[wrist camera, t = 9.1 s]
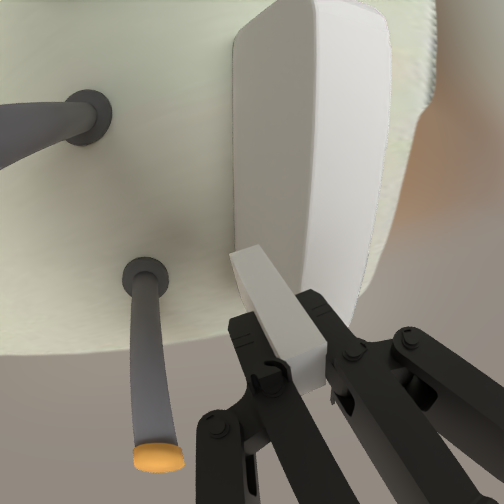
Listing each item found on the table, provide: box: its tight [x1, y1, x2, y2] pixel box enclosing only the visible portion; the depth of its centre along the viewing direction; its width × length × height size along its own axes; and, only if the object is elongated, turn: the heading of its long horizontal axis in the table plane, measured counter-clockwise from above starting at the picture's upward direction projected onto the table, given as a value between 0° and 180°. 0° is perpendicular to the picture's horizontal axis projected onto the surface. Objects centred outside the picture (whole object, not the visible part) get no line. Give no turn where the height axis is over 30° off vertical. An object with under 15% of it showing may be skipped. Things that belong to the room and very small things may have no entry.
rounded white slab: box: [233, 0, 392, 328], centre depth 24 cm, size 29×8×18 cm, turn 0°
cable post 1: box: [0, 90, 112, 170], centre depth 13 cm, size 6×6×24 cm
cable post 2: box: [122, 257, 185, 473], centre depth 25 cm, size 6×6×24 cm
